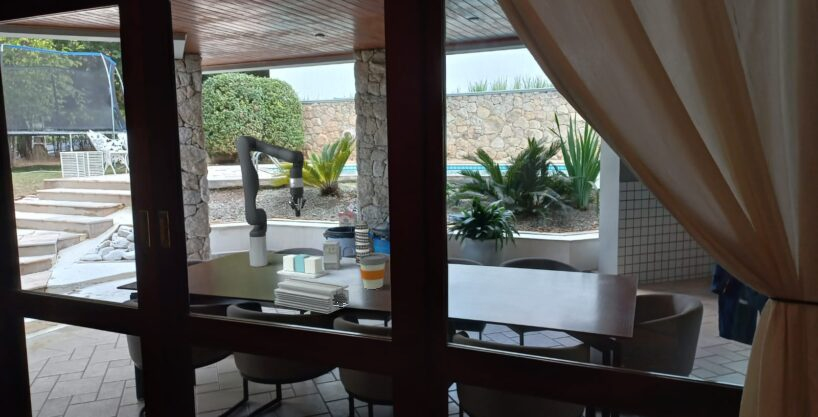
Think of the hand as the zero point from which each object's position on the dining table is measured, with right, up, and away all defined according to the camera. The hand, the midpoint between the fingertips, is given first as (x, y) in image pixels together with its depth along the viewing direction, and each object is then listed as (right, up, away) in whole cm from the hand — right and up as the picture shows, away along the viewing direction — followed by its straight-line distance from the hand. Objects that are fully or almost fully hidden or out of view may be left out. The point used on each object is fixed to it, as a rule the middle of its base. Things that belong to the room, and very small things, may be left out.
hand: (298, 216), depth 317 cm
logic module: (+5, -29, -13) cm, 32 cm away
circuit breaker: (+20, -29, +1) cm, 35 cm away
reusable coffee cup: (+45, -34, -45) cm, 72 cm away
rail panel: (+5, -31, -13) cm, 34 cm away
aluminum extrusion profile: (+20, -38, -71) cm, 83 cm away
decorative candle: (+36, -28, +9) cm, 46 cm away
